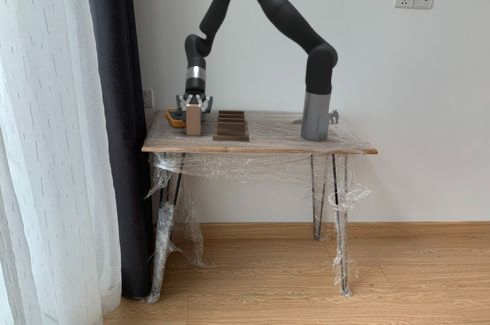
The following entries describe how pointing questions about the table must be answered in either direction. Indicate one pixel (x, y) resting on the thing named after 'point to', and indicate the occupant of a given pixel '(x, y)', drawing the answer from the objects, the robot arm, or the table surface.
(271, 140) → the table surface
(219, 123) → the ridged wooden board
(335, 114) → the caliper
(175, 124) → the multimeter
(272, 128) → the table surface
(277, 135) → the table surface
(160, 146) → the table surface
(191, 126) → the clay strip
